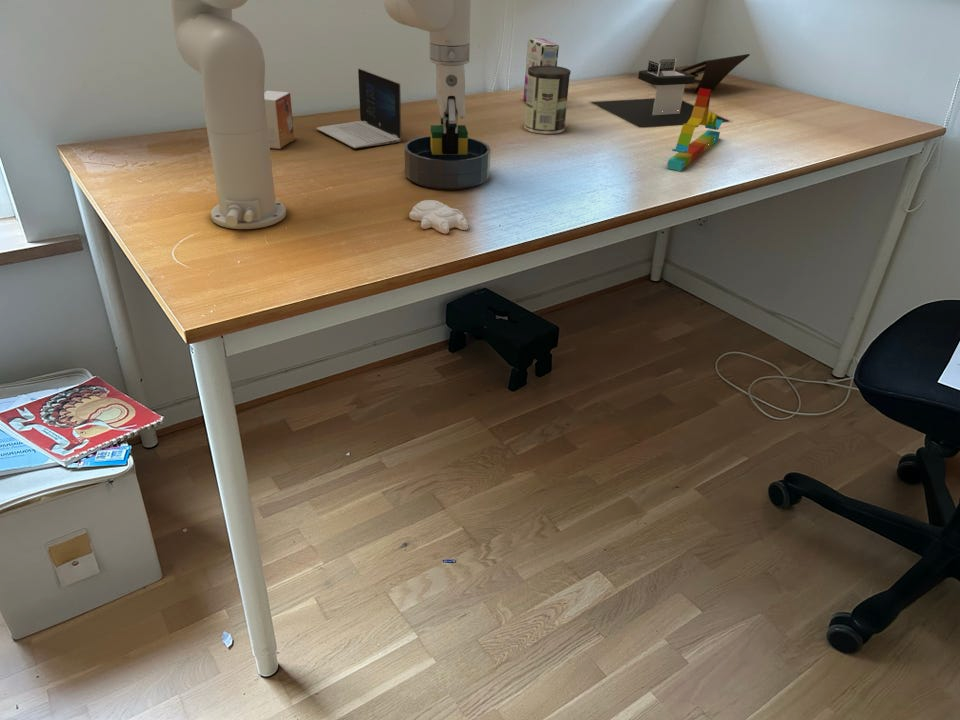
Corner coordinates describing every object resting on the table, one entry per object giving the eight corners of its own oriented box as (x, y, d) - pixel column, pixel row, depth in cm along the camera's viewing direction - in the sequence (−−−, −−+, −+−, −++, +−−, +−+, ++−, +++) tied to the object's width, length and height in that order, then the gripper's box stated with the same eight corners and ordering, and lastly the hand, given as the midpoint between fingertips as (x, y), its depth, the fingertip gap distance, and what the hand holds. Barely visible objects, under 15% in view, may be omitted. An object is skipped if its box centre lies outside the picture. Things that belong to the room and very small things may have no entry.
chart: (705, 137, 183) (718, 74, 175) (718, 139, 182) (732, 76, 174) (665, 168, 161) (679, 97, 153) (680, 171, 160) (693, 100, 152)
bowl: (494, 191, 144) (495, 161, 141) (406, 191, 142) (406, 160, 139) (483, 163, 159) (484, 135, 155) (403, 163, 156) (403, 134, 153)
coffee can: (553, 121, 189) (558, 64, 182) (571, 133, 181) (578, 73, 174) (516, 124, 186) (521, 65, 178) (534, 135, 178) (539, 74, 170)
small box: (280, 149, 160) (275, 100, 155) (256, 147, 161) (250, 97, 155) (295, 139, 167) (290, 92, 161) (272, 137, 168) (267, 89, 162)
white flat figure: (431, 237, 124) (431, 220, 122) (402, 213, 133) (402, 196, 131) (476, 229, 128) (477, 213, 126) (445, 206, 136) (446, 190, 135)
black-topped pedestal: (674, 97, 218) (683, 50, 211) (729, 121, 198) (741, 69, 190) (591, 102, 209) (597, 52, 202) (640, 127, 188) (648, 72, 181)
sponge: (467, 154, 146) (467, 132, 144) (432, 154, 145) (432, 132, 143) (464, 147, 150) (465, 125, 148) (430, 147, 149) (430, 125, 147)
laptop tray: (692, 97, 245) (686, 69, 243) (753, 77, 226) (748, 46, 224) (648, 106, 232) (642, 76, 230) (710, 85, 213) (704, 53, 211)
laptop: (315, 130, 174) (311, 72, 167) (361, 123, 180) (359, 67, 173) (354, 150, 162) (351, 89, 155) (401, 142, 169) (401, 83, 162)
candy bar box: (553, 109, 200) (559, 45, 191) (536, 110, 199) (542, 45, 190) (538, 99, 209) (544, 37, 200) (522, 99, 208) (527, 37, 199)
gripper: (474, 62, 131) (471, 162, 141) (464, 44, 145) (462, 136, 155) (432, 62, 130) (433, 163, 140) (426, 44, 144) (427, 136, 154)
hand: (448, 148), depth 147 cm, fingers closed on sponge, 4 cm apart
